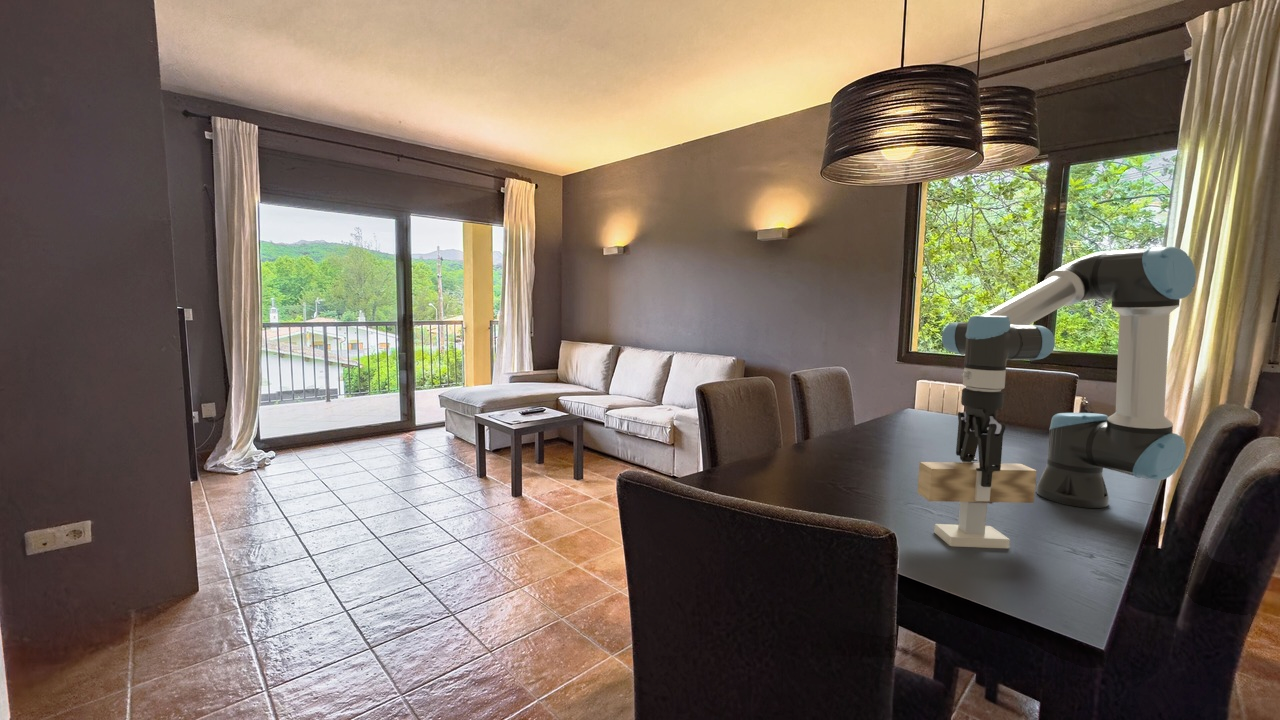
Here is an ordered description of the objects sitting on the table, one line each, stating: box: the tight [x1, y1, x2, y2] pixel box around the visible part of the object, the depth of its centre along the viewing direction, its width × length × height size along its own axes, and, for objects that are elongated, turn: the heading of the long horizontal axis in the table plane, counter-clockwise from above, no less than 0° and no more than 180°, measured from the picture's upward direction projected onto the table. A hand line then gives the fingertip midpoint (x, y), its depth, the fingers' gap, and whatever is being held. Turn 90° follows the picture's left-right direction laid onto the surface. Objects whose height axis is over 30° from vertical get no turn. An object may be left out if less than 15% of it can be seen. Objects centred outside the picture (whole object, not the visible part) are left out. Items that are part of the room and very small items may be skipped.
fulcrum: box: [933, 502, 1011, 549], centre depth 118 cm, size 12×7×9 cm, turn 87°
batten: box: [916, 461, 1037, 504], centre depth 117 cm, size 22×5×7 cm, turn 90°
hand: (974, 495), depth 117 cm, fingers closed on batten, 5 cm apart
